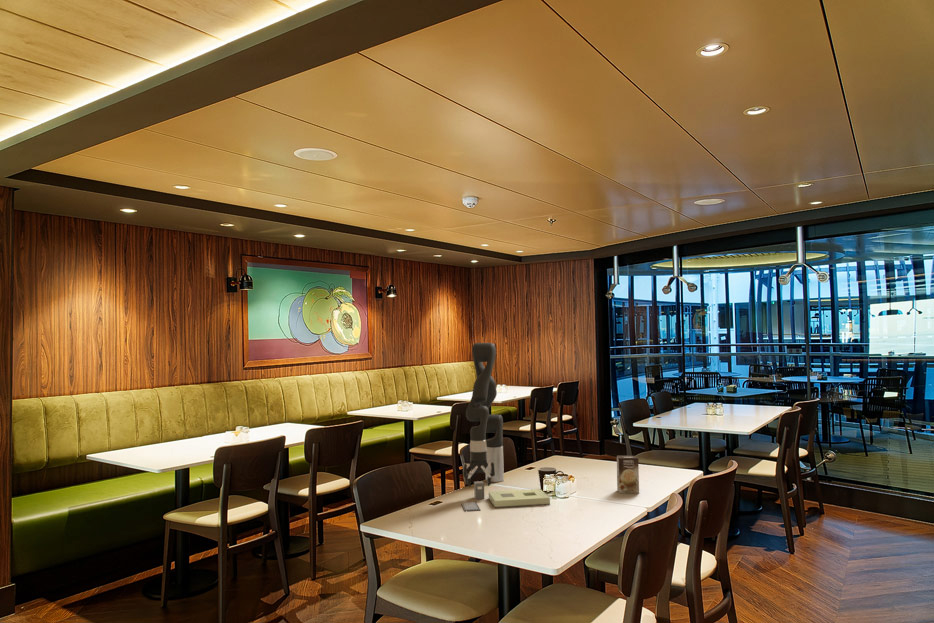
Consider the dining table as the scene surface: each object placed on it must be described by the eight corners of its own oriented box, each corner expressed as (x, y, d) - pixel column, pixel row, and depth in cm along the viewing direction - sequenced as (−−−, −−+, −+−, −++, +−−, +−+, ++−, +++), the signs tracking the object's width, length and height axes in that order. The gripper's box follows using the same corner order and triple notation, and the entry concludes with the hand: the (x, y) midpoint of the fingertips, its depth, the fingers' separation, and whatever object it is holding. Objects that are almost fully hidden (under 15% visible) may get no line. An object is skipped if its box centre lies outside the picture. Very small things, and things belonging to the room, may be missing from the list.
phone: (460, 504, 264) (460, 502, 264) (475, 504, 265) (475, 501, 265) (464, 512, 251) (464, 510, 251) (480, 512, 252) (480, 509, 252)
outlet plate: (488, 498, 271) (488, 491, 271) (540, 495, 274) (540, 488, 274) (495, 508, 255) (494, 500, 255) (550, 504, 258) (549, 497, 258)
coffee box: (619, 493, 275) (618, 458, 276) (617, 490, 281) (615, 455, 282) (639, 493, 274) (638, 457, 275) (637, 490, 280) (635, 455, 281)
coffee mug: (536, 492, 281) (536, 470, 281) (540, 487, 289) (540, 466, 289) (561, 493, 277) (561, 471, 277) (564, 489, 285) (564, 467, 286)
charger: (474, 497, 274) (474, 481, 274) (483, 496, 275) (482, 481, 275) (475, 499, 270) (475, 483, 270) (484, 498, 271) (484, 483, 271)
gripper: (492, 448, 278) (493, 483, 277) (461, 449, 276) (462, 485, 275) (495, 450, 271) (496, 487, 269) (463, 451, 269) (464, 488, 268)
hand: (479, 486), depth 272 cm, fingers open, 8 cm apart
